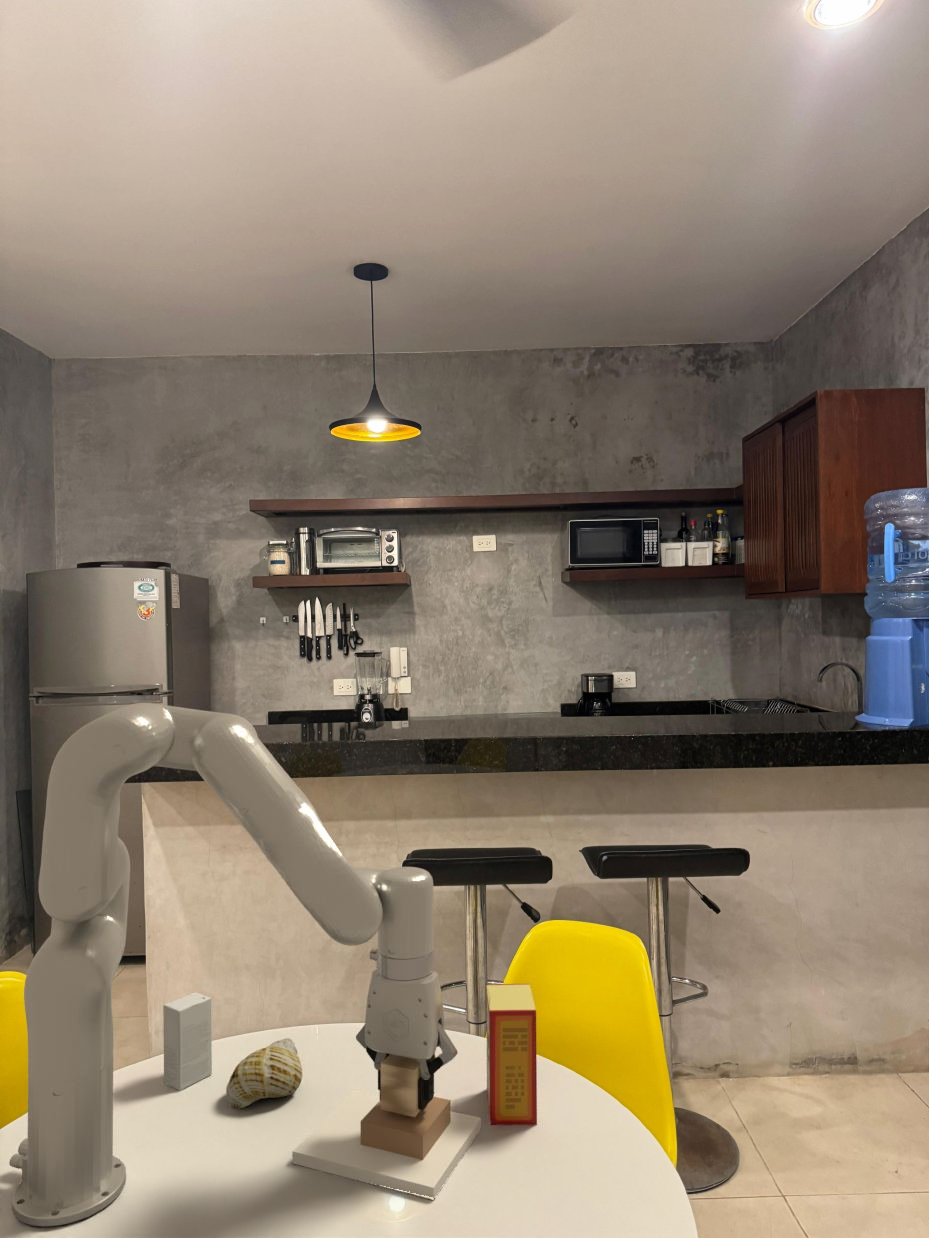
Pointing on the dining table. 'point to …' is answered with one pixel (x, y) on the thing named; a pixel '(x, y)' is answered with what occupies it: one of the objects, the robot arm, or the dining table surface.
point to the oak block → (400, 1085)
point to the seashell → (265, 1074)
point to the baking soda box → (511, 1054)
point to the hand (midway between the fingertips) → (405, 1098)
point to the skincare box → (187, 1040)
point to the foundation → (389, 1144)
